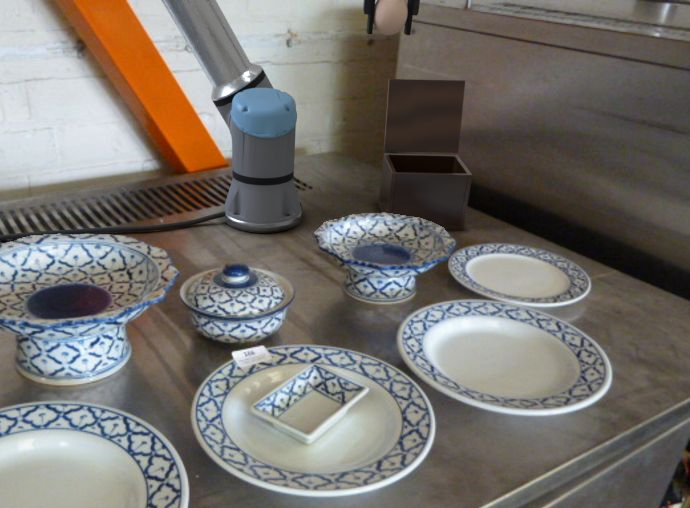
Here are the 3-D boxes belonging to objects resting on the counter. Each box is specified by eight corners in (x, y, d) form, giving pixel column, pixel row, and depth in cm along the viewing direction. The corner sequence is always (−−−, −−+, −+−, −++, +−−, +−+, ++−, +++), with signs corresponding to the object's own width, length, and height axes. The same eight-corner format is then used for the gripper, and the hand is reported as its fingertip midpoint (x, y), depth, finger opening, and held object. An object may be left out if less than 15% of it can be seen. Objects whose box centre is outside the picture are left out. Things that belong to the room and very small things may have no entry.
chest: (462, 230, 125) (472, 175, 120) (385, 228, 125) (392, 173, 120) (449, 206, 136) (457, 155, 131) (378, 204, 136) (383, 153, 131)
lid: (465, 80, 126) (458, 82, 131) (389, 78, 127) (385, 81, 132) (458, 152, 130) (452, 152, 135) (384, 151, 130) (380, 150, 135)
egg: (411, 35, 128) (417, -10, 124) (394, 38, 123) (399, -9, 119) (381, 32, 131) (386, -13, 127) (363, 34, 127) (368, -11, 123)
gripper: (349, -111, 112) (339, 35, 124) (464, -109, 112) (443, 37, 124) (345, -109, 119) (335, 30, 130) (453, -106, 119) (434, 32, 130)
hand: (388, 33), depth 127 cm, fingers closed on egg, 7 cm apart
